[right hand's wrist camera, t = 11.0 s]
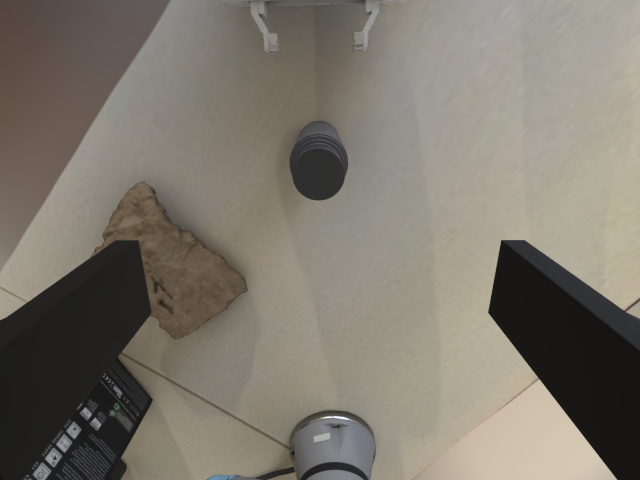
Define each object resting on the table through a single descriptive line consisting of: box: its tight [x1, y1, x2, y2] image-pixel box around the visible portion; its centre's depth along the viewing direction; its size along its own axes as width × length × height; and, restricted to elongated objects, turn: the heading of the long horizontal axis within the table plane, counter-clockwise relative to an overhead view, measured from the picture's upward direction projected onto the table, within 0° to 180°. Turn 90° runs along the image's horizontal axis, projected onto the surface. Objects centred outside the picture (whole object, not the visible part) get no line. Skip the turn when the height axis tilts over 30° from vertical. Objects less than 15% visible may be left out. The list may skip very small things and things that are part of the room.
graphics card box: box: [23, 358, 153, 480], centre depth 51 cm, size 17×7×27 cm, turn 29°
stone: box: [91, 182, 248, 339], centre depth 54 cm, size 21×15×6 cm
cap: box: [293, 146, 345, 200], centre depth 30 cm, size 4×4×2 cm
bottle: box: [290, 121, 348, 175], centre depth 40 cm, size 5×5×22 cm
